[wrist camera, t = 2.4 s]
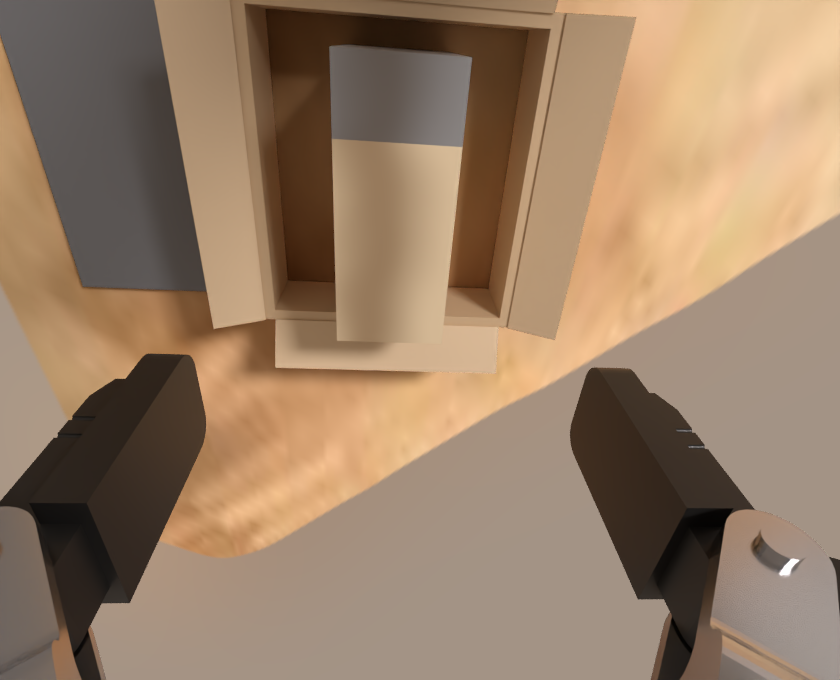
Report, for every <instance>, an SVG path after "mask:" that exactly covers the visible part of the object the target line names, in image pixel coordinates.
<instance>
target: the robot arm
mask: <svg viewBox="0 0 840 680" xmlns="http://www.w3.org/2000/svg"><path fill="white" fill-rule="evenodd" d="M72 417H73V418H72V420H69V421H68V422H67V423H66V424H65V425H64V427H63V428H62V429H61V430H60V432H58V437H57V438H53V440H52V441H51V442H50V443H49V444H48V446H47V447H46V448H45V449H44V450H43V451H42V453H41V454H40V455H39V456H38V457H37V459H36V460H35V461H34V462H33V463H32V464H31V466H30V467H29V468H28V469H27V470H26V471H25V473H24V474H23V475H22V476H21V478H20V479H19V480H18V481H17V482H16V483H15V485H14V486H13V487H12V488H11V489H10V490H9V492H8V493H7V494H6V495H5V496H4V498H3V499H2V500H1V501H0V680H106V677H105V673H104V669H103V666H102V662H101V658H100V655H99V651H98V647H97V644H96V640H95V637H94V633H93V630H92V628H91V626H90V625H91V623H92V621H93V619H94V617H95V615H96V613H97V611H98V609H99V607H100V605H101V604H102V603H130V601H131V599H132V597H133V595H134V592H135V590H136V588H137V585H138V584H139V582H140V579H141V577H142V575H143V573H144V571H145V568H146V566H147V564H148V562H149V560H150V558H151V556H152V553H153V551H154V549H155V547H156V545H157V543H158V541H159V538H160V536H161V534H162V532H163V530H164V528H165V525H166V523H167V521H168V519H169V517H170V515H171V513H172V510H173V508H174V506H175V504H176V502H177V500H178V497H179V495H180V493H181V491H182V489H183V487H184V484H185V482H186V480H187V478H188V476H189V474H190V471H191V469H192V467H193V465H194V463H195V461H196V459H197V456H198V454H199V452H200V450H201V448H202V445H203V442H204V438H205V432H206V416H205V411H204V406H203V401H202V396H201V392H200V387H199V382H198V377H197V373H196V368H195V364H194V361H193V359H192V357H191V356H189V355H176V354H146V355H145V356H143V357H142V359H141V360H140V361H139V362H138V364H137V365H136V366H135V368H134V369H133V370H132V371H131V373H130V374H129V375H128V376H127V378H126V379H115V380H113V381H112V382H110V383H108V384H107V385H105V386H104V387H102V388H101V389H99V390H98V391H96V392H95V393H93V394H91V395H90V396H89V397H88V398H87V399H86V401H85V402H84V403H83V404H82V405H81V406H80V408H79V409H78V410H77V411H76V412H75V414H74V415H73V416H72ZM570 439H571V440H570V441H571V447H572V450H573V454H574V456H575V458H576V461H577V463H578V465H579V467H580V470H581V472H582V474H583V476H584V479H585V481H586V483H587V485H588V488H589V490H590V492H591V494H592V497H593V499H594V501H595V503H596V506H597V508H598V510H599V512H600V515H601V517H602V519H603V521H604V523H605V526H606V528H607V530H608V533H609V535H610V537H611V540H612V542H613V544H614V546H615V549H616V551H617V553H618V555H619V558H620V560H621V562H622V564H623V567H624V569H625V571H626V573H627V576H628V578H629V580H630V582H631V585H632V587H633V589H634V591H635V594H636V596H637V598H638V599H664V600H665V602H666V604H667V606H668V608H669V610H670V613H669V614H668V616H667V618H666V620H665V622H664V626H663V630H662V634H661V638H660V643H659V647H658V651H657V655H656V659H655V664H654V668H653V673H652V676H651V680H840V560H838V559H835V558H831V557H828V555H827V554H826V552H825V551H824V550H823V549H822V547H821V546H820V545H819V544H818V543H817V542H816V541H815V540H814V539H812V538H811V537H810V536H809V535H808V534H807V533H805V532H804V531H803V530H801V529H800V528H798V527H797V526H795V525H793V524H792V523H790V522H788V521H786V520H784V519H782V518H780V517H778V516H775V515H773V514H770V513H767V512H763V511H758V510H755V509H754V508H753V507H752V505H751V504H750V503H749V502H748V501H747V499H746V498H745V497H744V495H743V494H742V493H741V491H740V490H739V489H738V487H737V486H736V485H735V484H734V482H733V481H732V480H731V478H730V477H729V476H728V475H727V473H726V472H725V471H724V470H723V468H722V467H721V466H720V464H719V463H718V462H717V460H716V459H715V458H714V457H713V455H712V454H711V453H710V451H709V450H708V449H705V448H704V444H703V442H702V441H701V440H700V439H699V437H698V436H697V435H696V433H692V429H691V427H690V426H689V424H688V423H687V422H686V420H685V419H684V418H683V417H682V415H681V414H680V413H679V411H678V410H677V409H675V408H674V407H673V406H671V405H670V404H669V403H667V402H666V401H665V400H663V399H662V398H660V397H659V396H658V395H656V394H655V393H649V392H648V391H647V389H646V388H645V387H644V386H643V384H642V383H641V381H640V380H639V379H638V377H637V376H636V374H635V373H634V372H633V371H632V370H631V369H625V368H624V369H623V368H591V369H590V370H589V371H588V373H587V375H586V378H585V381H584V385H583V388H582V391H581V394H580V397H579V401H578V404H577V407H576V410H575V414H574V417H573V420H572V424H571V430H570Z"/></svg>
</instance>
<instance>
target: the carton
mask: <svg viewBox="0 0 840 680" xmlns="http://www.w3.org/2000/svg"><path fill="white" fill-rule="evenodd" d="M557 2H558V0H154V3H155V8H156V14H157V19H158V25H159V30H160V36H161V41H162V47H163V52H164V58H165V63H166V69H167V75H168V80H169V86H170V91H171V97H172V102H173V108H174V113H175V119H176V124H177V130H178V135H179V141H180V146H181V152H182V157H183V163H184V168H185V174H186V180H187V185H188V191H189V196H190V202H191V207H192V213H193V218H194V224H195V229H196V235H197V240H198V246H199V251H200V257H201V262H202V268H203V274H204V279H205V285H206V290H207V296H208V301H209V307H210V312H211V318H212V323H213V328H214V329H216V328H222V327H228V326H234V325H240V324H245V323H251V322H257V321H263V320H266V319H276V329H275V368H306V369H343V370H380V371H417V372H454V373H491V374H496V362H497V346H498V329H499V327H508V329H512V330H516V331H520V332H524V333H528V334H532V335H536V336H540V337H544V338H548V339H552V340H555V338H556V334H557V330H558V326H559V322H560V318H561V314H562V310H563V306H564V302H565V298H566V294H567V290H568V286H569V282H570V278H571V274H572V270H573V266H574V262H575V258H576V255H577V251H578V247H579V243H580V239H581V235H582V231H583V227H584V223H585V219H586V215H587V211H588V207H589V203H590V199H591V195H592V191H593V187H594V183H595V179H596V175H597V171H598V167H599V163H600V159H601V155H602V151H603V147H604V143H605V139H606V136H607V132H608V128H609V124H610V120H611V116H612V112H613V108H614V104H615V100H616V96H617V92H618V88H619V84H620V80H621V76H622V72H623V68H624V64H625V60H626V56H627V52H628V48H629V44H630V40H631V36H632V32H633V28H634V24H635V21H636V17H625V16H607V15H589V14H572V13H556V12H555V9H556V6H557ZM266 9H278V10H290V11H302V12H314V13H326V14H338V15H350V16H362V17H374V18H386V19H398V20H410V21H422V22H434V23H446V24H458V25H470V26H482V27H494V28H506V29H518V30H529V32H528V38H527V45H526V51H525V58H524V64H523V70H522V77H521V83H520V89H519V96H518V102H517V109H516V115H515V121H514V128H513V134H512V140H511V147H510V153H509V160H508V166H507V172H506V179H505V185H504V191H503V198H502V204H501V211H500V217H499V223H498V230H497V236H496V243H495V249H494V255H493V262H492V268H491V274H490V281H489V287H488V289H484V288H460V287H447V297H446V306H445V315H444V325H443V334H442V343H441V344H425V343H394V342H362V341H337V321H336V283H335V282H313V281H288V275H287V263H286V251H285V239H284V227H283V214H282V202H281V190H280V178H279V166H278V154H277V142H276V129H275V117H274V105H273V93H272V81H271V69H270V56H269V44H268V32H267V20H266Z"/></svg>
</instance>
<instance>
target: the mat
mask: <svg viewBox="0 0 840 680" xmlns="http://www.w3.org/2000/svg"><path fill="white" fill-rule="evenodd" d="M0 35H1V38H2V41H3V44H4V47H5V50H6V53H7V56H8V59H9V62H10V65H11V68H12V72H13V75H14V78H15V81H16V84H17V87H18V90H19V93H20V96H21V99H22V102H23V105H24V108H25V111H26V114H27V117H28V120H29V123H30V126H31V130H32V133H33V136H34V139H35V142H36V145H37V148H38V151H39V154H40V157H41V160H42V163H43V166H44V169H45V172H46V175H47V178H48V181H49V184H50V187H51V191H52V194H53V197H54V200H55V203H56V206H57V209H58V212H59V215H60V218H61V221H62V224H63V227H64V230H65V233H66V236H67V239H68V242H69V245H70V249H71V252H72V255H73V258H74V261H75V264H76V267H77V270H78V273H79V276H80V279H81V282H82V285H83V287H106V288H132V289H158V290H184V291H207V290H206V285H205V279H204V274H203V268H202V262H201V257H200V251H199V246H198V240H197V235H196V229H195V224H194V218H193V213H192V207H191V202H190V196H189V191H188V185H187V180H186V174H185V168H184V163H183V157H182V152H181V146H180V141H179V135H178V130H177V124H176V119H175V113H174V108H173V102H172V97H171V91H170V86H169V80H168V75H167V69H166V63H165V58H164V52H163V47H162V41H161V36H160V30H159V25H158V19H157V14H156V8H155V3H154V0H0Z"/></svg>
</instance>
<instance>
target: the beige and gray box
mask: <svg viewBox="0 0 840 680" xmlns="http://www.w3.org/2000/svg"><path fill="white" fill-rule="evenodd" d="M329 52H330V90H331V129H332V167H333V206H334V244H335V283H336V321H337V341H362V342H394V343H425V344H441V343H442V334H443V325H444V315H445V306H446V297H447V287H448V278H449V269H450V260H451V250H452V241H453V232H454V223H455V213H456V204H457V195H458V185H459V176H460V167H461V158H462V148H463V139H464V130H465V121H466V111H467V102H468V93H469V83H470V74H471V65H472V57H468V56H464V55H460V54H455V53H451V52H444V51H431V50H419V49H406V48H393V47H380V46H368V45H355V44H345V45H336V46H329Z"/></svg>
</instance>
